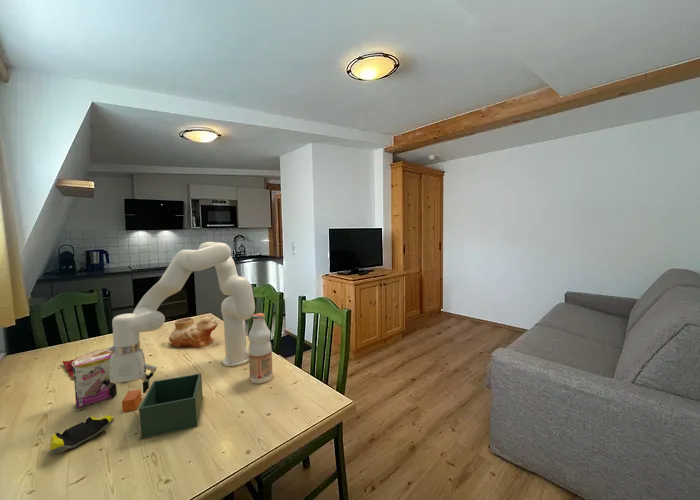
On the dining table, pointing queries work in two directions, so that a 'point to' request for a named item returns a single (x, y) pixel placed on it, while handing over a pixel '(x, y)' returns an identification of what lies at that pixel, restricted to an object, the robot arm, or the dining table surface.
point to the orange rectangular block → (131, 400)
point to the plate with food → (89, 355)
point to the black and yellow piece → (79, 433)
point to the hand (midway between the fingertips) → (130, 393)
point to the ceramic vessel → (192, 332)
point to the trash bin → (171, 405)
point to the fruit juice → (260, 350)
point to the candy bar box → (91, 380)
